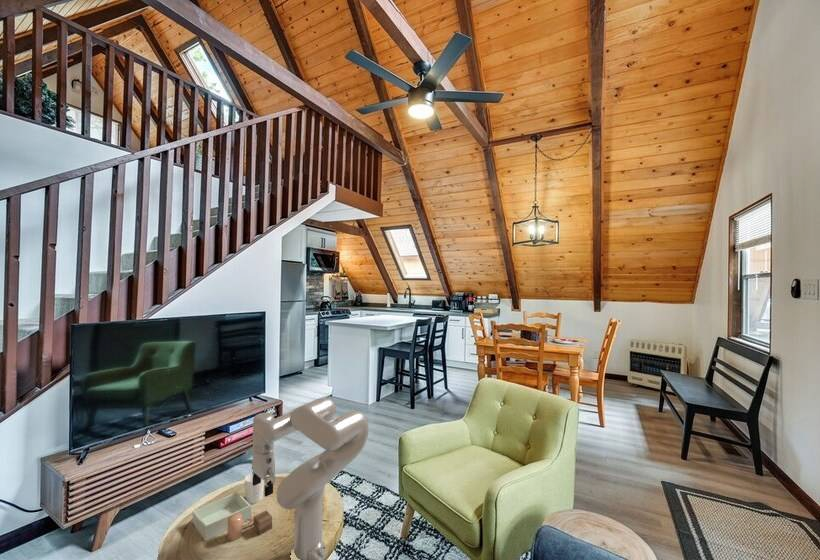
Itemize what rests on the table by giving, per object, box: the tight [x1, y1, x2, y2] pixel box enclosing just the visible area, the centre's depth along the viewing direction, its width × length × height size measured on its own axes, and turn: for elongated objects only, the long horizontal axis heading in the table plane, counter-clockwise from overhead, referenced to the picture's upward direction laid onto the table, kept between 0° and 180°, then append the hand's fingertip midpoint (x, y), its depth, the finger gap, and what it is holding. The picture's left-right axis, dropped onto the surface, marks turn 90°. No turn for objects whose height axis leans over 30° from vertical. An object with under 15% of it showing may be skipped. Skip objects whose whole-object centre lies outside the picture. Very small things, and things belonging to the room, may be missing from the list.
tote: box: [192, 491, 252, 542], centre depth 145 cm, size 13×17×5 cm
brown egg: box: [227, 513, 243, 542], centre depth 137 cm, size 5×5×7 cm
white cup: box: [244, 472, 265, 505], centre depth 159 cm, size 8×8×10 cm
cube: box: [253, 510, 273, 536], centre depth 141 cm, size 5×5×5 cm
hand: (262, 489), depth 141 cm, fingers open, 9 cm apart
